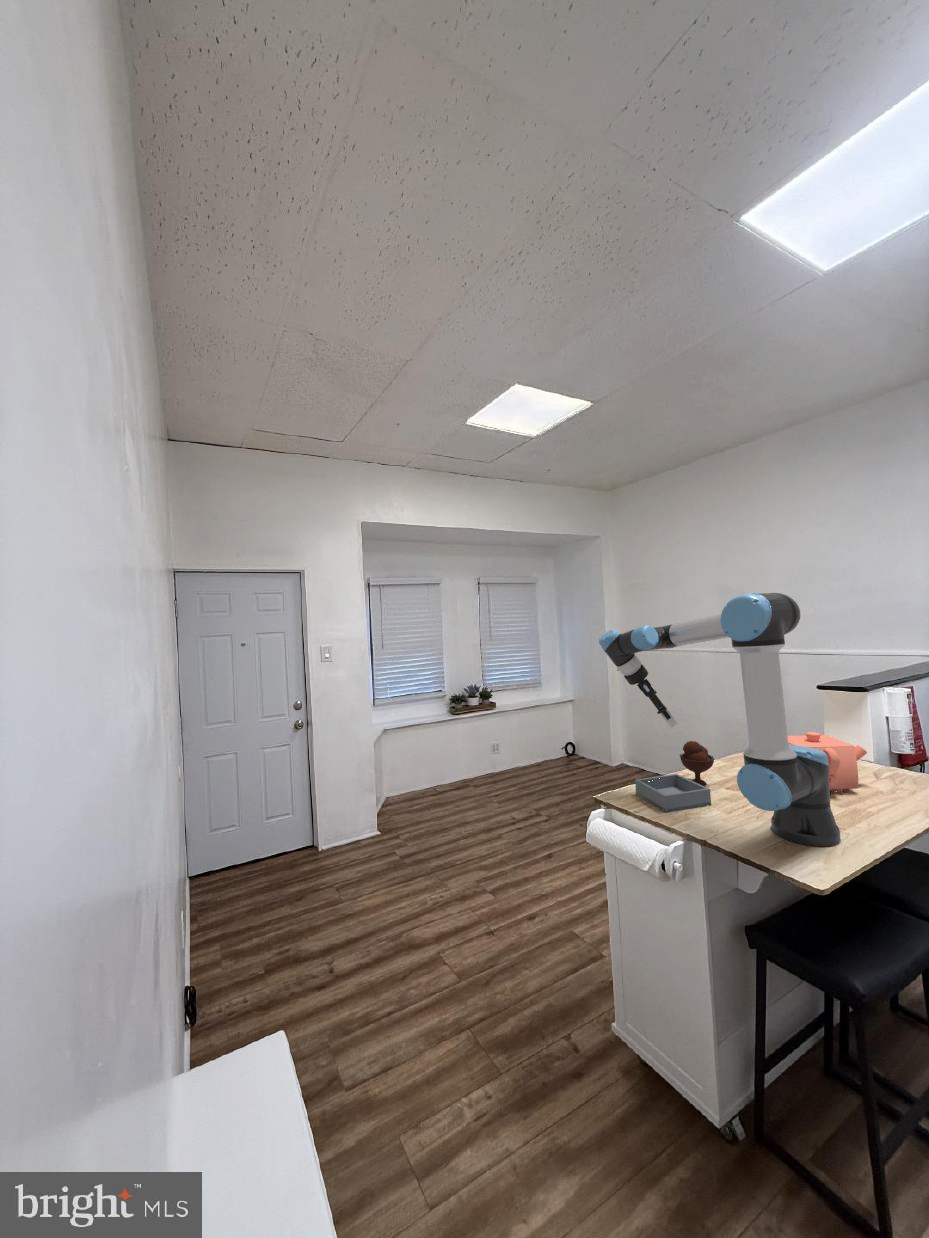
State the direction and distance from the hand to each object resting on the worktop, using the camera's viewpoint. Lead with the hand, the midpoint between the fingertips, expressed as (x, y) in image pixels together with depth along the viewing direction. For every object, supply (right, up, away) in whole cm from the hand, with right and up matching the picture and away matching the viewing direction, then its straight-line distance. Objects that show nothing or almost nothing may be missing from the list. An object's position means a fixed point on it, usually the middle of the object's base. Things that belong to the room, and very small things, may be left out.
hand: (668, 717), depth 168 cm
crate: (-4, -24, -12) cm, 27 cm away
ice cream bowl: (+11, -23, +1) cm, 26 cm away
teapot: (+49, -21, -7) cm, 54 cm away
